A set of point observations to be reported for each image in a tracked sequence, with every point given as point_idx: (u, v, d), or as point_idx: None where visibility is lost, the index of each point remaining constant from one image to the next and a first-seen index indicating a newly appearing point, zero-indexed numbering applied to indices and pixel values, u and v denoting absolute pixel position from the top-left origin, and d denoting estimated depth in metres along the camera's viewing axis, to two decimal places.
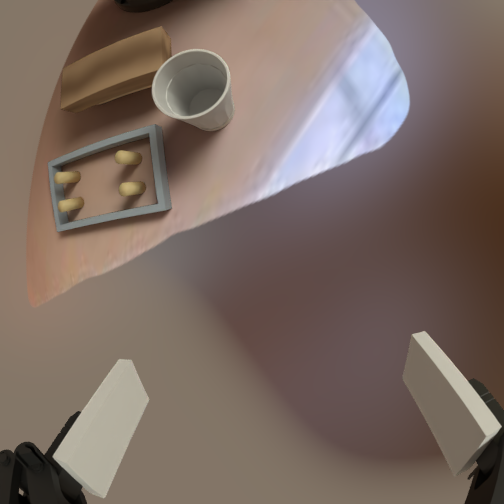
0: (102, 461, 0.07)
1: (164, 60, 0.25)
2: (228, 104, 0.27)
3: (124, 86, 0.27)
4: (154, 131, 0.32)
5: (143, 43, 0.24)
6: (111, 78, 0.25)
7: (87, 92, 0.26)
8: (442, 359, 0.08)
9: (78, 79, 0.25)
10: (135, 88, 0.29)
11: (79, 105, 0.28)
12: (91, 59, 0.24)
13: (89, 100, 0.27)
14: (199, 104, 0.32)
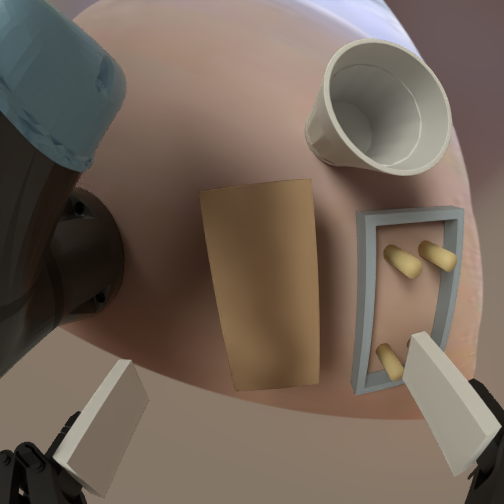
0: (102, 461, 0.07)
1: None
2: None
3: None
4: (374, 217, 0.22)
5: (236, 226, 0.17)
6: (300, 288, 0.18)
7: (312, 335, 0.19)
8: (442, 359, 0.08)
9: (274, 358, 0.20)
10: None
11: None
12: (239, 338, 0.19)
13: None
14: None
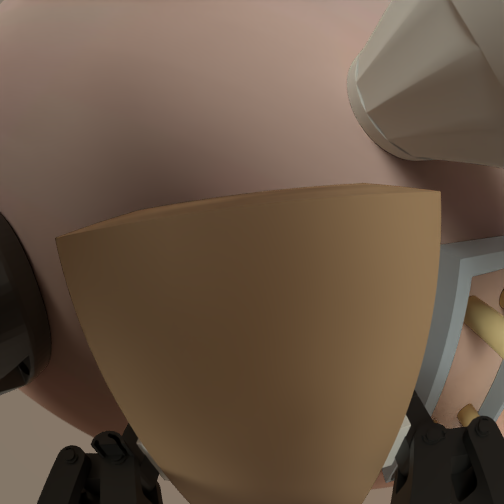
0: None
1: (348, 192, 0.04)
2: None
3: None
4: (471, 261, 0.10)
5: (177, 351, 0.05)
6: (352, 460, 0.06)
7: (355, 497, 0.06)
8: None
9: None
10: None
11: None
12: None
13: None
14: None
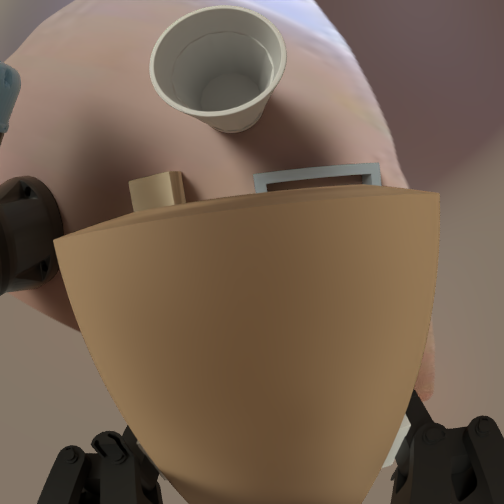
0: None
1: (347, 194, 0.04)
2: None
3: None
4: (264, 175, 0.24)
5: (174, 353, 0.05)
6: (350, 461, 0.06)
7: (354, 498, 0.06)
8: None
9: None
10: None
11: None
12: None
13: None
14: None
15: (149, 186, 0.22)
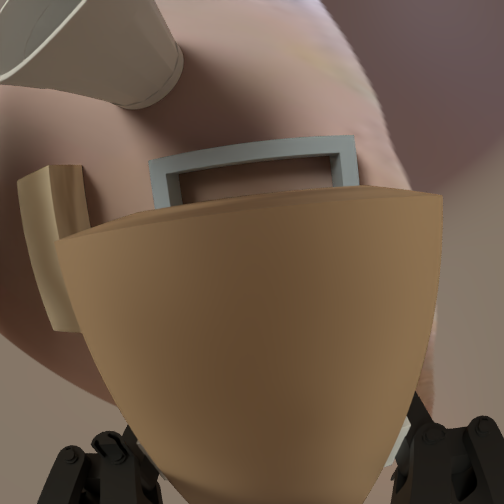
0: None
1: (350, 195, 0.04)
2: None
3: None
4: (165, 161, 0.15)
5: (177, 355, 0.05)
6: (351, 462, 0.06)
7: (355, 498, 0.06)
8: None
9: None
10: None
11: None
12: None
13: None
14: None
15: (32, 186, 0.14)
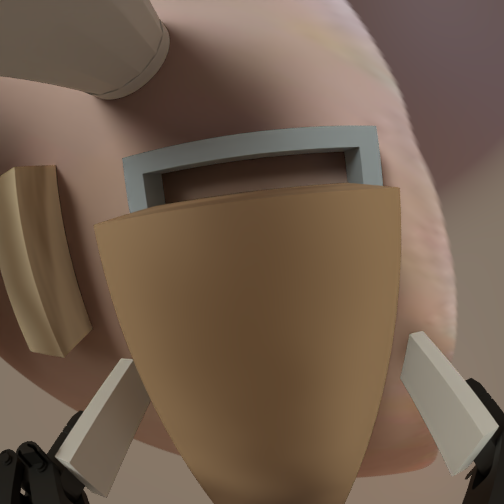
0: (104, 460, 0.07)
1: (326, 189, 0.06)
2: None
3: None
4: (142, 159, 0.12)
5: (193, 315, 0.06)
6: (341, 425, 0.07)
7: (348, 470, 0.08)
8: (440, 359, 0.08)
9: (279, 493, 0.09)
10: None
11: None
12: (220, 477, 0.08)
13: None
14: None
15: (0, 191, 0.11)
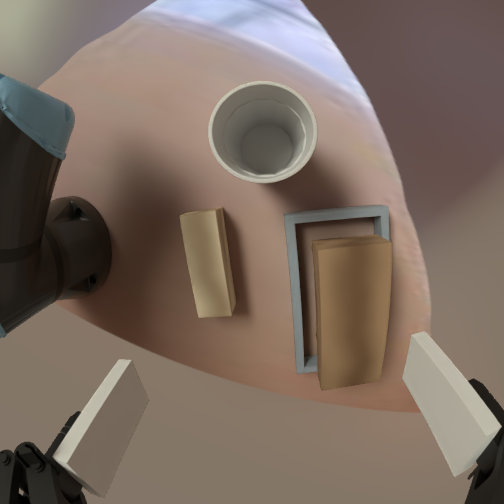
0: (102, 461, 0.07)
1: (374, 242, 0.23)
2: None
3: None
4: (293, 216, 0.29)
5: (342, 274, 0.23)
6: (378, 314, 0.24)
7: (381, 345, 0.25)
8: (442, 359, 0.08)
9: (353, 363, 0.26)
10: None
11: None
12: (332, 350, 0.25)
13: None
14: (262, 160, 0.29)
15: (198, 221, 0.28)
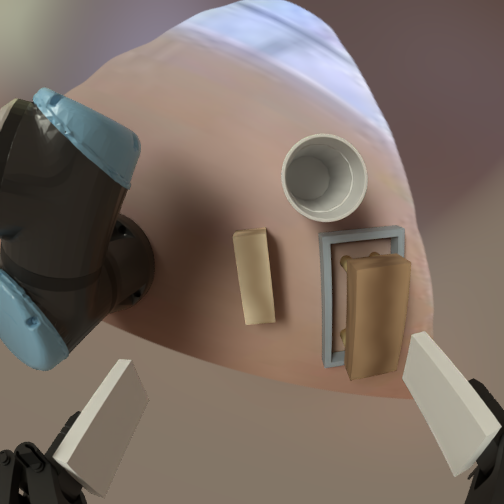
0: (102, 461, 0.07)
1: (397, 262, 0.28)
2: None
3: None
4: (329, 237, 0.34)
5: (373, 288, 0.28)
6: (397, 318, 0.29)
7: (398, 342, 0.30)
8: (442, 359, 0.08)
9: (377, 357, 0.31)
10: None
11: None
12: (362, 347, 0.31)
13: None
14: (303, 188, 0.33)
15: (250, 242, 0.33)
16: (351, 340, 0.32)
